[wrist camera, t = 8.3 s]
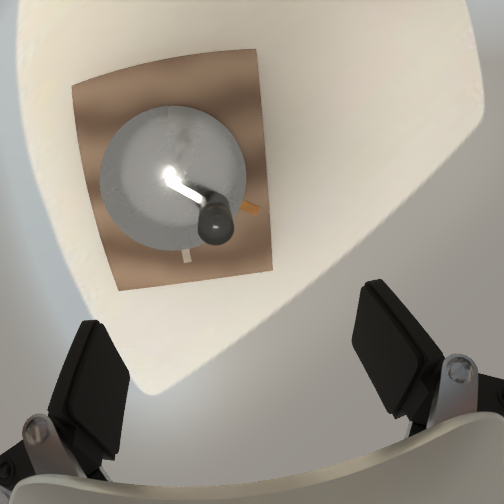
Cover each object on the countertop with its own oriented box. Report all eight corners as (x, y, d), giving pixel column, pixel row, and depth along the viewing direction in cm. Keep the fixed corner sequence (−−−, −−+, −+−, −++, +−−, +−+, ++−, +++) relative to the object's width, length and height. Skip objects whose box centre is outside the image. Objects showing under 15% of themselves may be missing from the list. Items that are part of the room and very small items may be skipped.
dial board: (80, 87, 20) (70, 85, 18) (252, 53, 21) (256, 48, 20) (122, 281, 30) (118, 291, 28) (269, 261, 32) (273, 270, 30)
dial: (84, 206, 23) (56, 231, 18) (148, 81, 19) (128, 71, 14) (197, 266, 28) (196, 304, 23) (273, 155, 24) (292, 167, 19)
